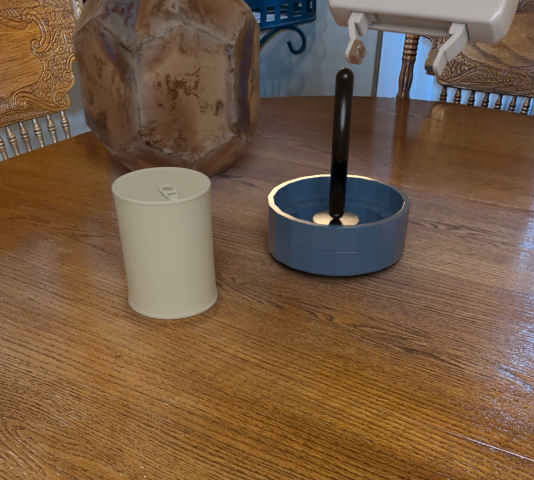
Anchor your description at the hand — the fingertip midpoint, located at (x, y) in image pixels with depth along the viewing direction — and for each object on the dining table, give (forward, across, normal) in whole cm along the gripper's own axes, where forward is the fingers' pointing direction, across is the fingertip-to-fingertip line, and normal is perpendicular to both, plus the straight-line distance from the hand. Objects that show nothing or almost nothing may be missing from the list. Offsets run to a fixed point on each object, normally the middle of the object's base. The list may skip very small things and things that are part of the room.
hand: (390, 66), depth 74 cm
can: (+32, -8, -8) cm, 34 cm away
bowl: (+19, 0, +6) cm, 19 cm away
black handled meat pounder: (+18, 0, +5) cm, 19 cm away
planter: (+11, -33, +14) cm, 37 cm away
